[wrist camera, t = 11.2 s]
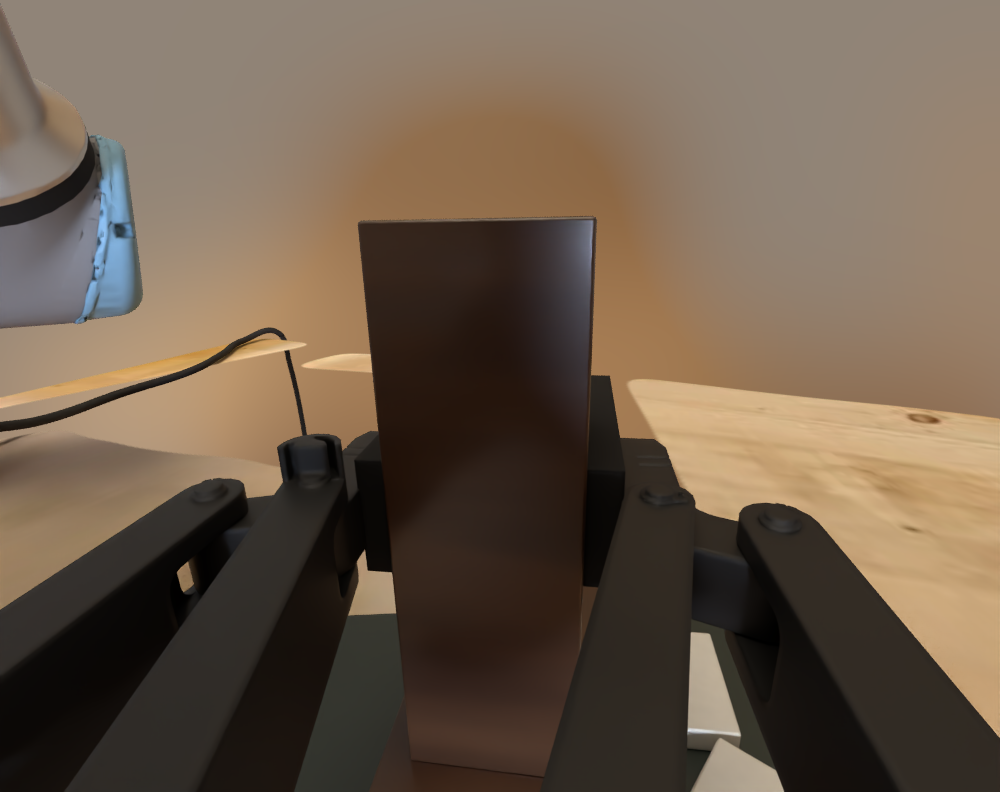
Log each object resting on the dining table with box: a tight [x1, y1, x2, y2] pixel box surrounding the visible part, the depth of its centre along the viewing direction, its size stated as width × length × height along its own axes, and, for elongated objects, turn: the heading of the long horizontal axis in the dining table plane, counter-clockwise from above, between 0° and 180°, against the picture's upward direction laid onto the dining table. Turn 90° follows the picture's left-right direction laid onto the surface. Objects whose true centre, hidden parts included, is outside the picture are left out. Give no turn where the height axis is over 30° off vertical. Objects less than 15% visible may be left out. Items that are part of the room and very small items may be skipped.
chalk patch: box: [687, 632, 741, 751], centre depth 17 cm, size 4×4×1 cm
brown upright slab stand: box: [358, 216, 598, 792], centre depth 12 cm, size 12×6×15 cm, turn 172°
